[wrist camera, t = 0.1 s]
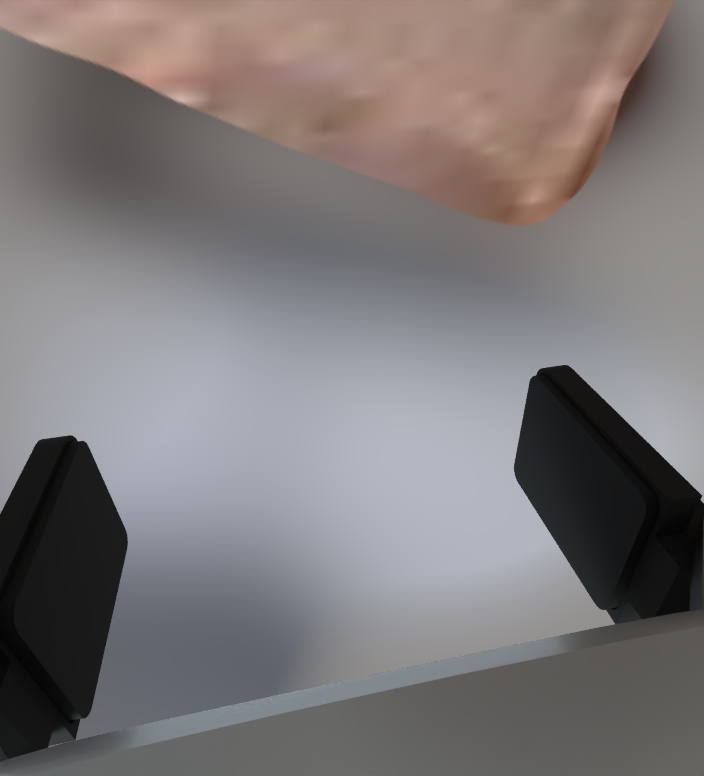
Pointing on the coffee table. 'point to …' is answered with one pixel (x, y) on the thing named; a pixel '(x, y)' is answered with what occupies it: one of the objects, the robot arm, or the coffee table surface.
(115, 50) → the coffee table surface
